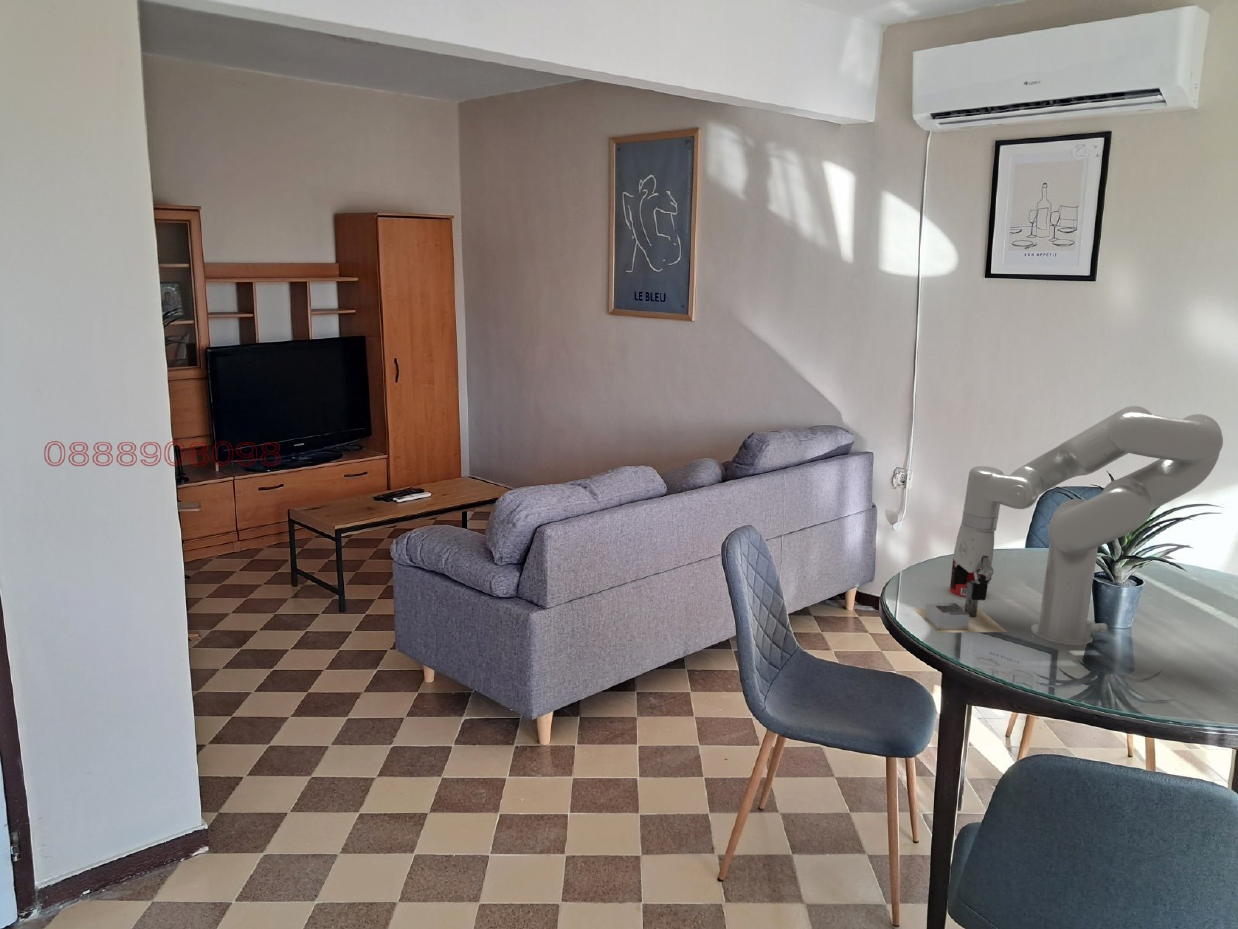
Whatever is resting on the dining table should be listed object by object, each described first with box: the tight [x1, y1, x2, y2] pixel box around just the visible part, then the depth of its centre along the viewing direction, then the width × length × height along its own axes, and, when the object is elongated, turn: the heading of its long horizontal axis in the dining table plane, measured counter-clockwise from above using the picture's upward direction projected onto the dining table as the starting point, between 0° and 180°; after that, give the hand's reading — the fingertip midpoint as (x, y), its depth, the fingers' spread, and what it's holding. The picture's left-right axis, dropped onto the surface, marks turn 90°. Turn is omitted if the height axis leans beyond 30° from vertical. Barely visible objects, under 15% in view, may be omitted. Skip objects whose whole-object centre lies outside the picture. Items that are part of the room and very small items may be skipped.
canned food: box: [949, 555, 983, 598], centre depth 236 cm, size 8×8×11 cm
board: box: [913, 608, 1008, 634], centre depth 218 cm, size 16×14×1 cm
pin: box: [963, 580, 979, 617], centre depth 221 cm, size 3×3×8 cm
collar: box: [925, 602, 969, 630], centre depth 216 cm, size 7×7×4 cm
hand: (968, 591), depth 221 cm, fingers open, 9 cm apart
